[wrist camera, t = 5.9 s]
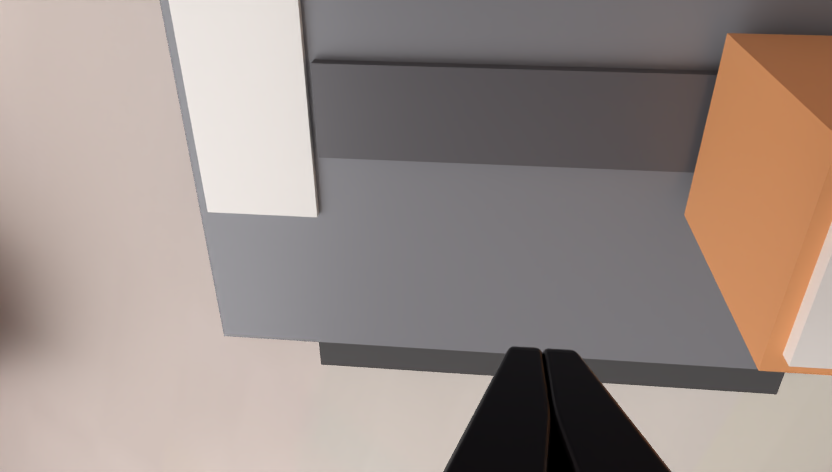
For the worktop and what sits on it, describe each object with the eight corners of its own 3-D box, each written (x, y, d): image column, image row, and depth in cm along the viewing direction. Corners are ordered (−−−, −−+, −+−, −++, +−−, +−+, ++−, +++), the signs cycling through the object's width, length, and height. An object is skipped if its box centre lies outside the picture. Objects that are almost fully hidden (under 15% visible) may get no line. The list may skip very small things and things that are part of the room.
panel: (1113, -267, 14) (1268, -286, 11) (863, 313, 22) (917, 386, 19) (170, -257, 16) (99, -273, 13) (252, 279, 24) (221, 342, 21)
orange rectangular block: (877, 36, 14) (1083, 156, 9) (812, 220, 16) (949, 394, 12) (727, 32, 14) (849, 147, 9) (684, 215, 17) (764, 382, 12)
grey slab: (1075, -445, 13) (1145, -475, 11) (777, 365, 23) (794, 399, 22) (239, -420, 14) (211, -444, 13) (315, 337, 25) (305, 367, 23)
